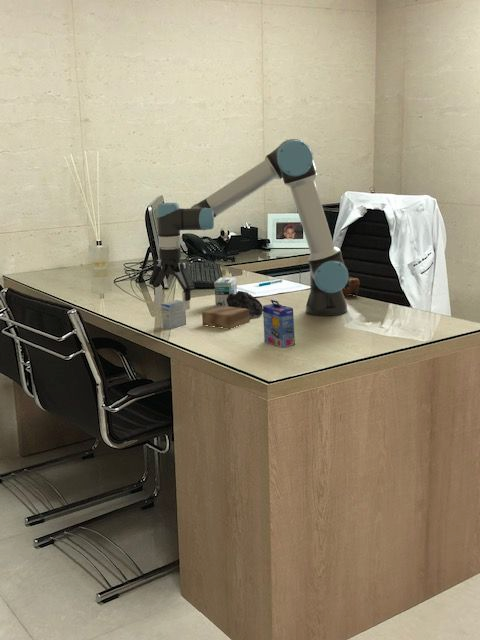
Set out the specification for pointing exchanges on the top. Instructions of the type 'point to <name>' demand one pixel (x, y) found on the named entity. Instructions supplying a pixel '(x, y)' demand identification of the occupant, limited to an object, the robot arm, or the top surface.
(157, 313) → the top surface
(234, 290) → the light bulb box
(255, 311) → the black rock
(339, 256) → the robot arm
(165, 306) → the medicine box
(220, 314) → the walnut desk box
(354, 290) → the decorative turtle
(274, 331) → the ink cartridge box
